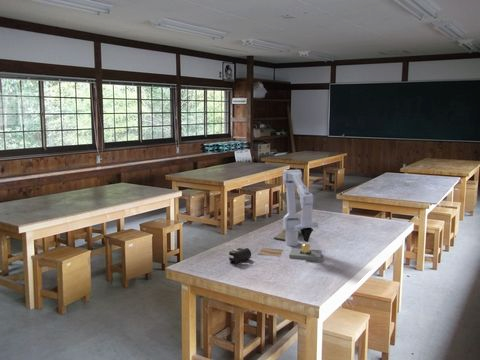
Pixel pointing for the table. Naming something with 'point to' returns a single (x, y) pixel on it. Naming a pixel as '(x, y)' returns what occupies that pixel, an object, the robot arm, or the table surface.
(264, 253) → the stand pad
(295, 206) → the robot arm
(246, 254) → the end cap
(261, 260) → the table surface
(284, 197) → the embossing press
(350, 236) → the table surface
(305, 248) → the brass peg
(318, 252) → the grey square socket plate
